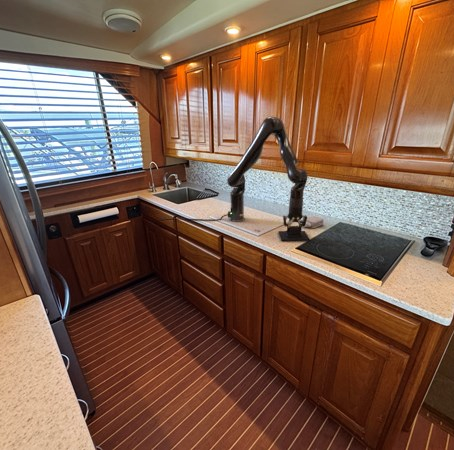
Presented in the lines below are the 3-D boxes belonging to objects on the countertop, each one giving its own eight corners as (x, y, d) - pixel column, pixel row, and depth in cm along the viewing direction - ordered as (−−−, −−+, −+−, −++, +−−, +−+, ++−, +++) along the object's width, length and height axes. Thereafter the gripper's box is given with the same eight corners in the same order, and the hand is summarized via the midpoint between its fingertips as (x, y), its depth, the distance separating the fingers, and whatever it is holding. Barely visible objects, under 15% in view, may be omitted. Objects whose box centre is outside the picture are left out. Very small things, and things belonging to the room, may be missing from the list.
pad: (290, 235, 138) (290, 229, 136) (288, 231, 143) (288, 225, 142) (299, 235, 138) (300, 229, 136) (297, 231, 143) (297, 225, 141)
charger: (297, 227, 155) (311, 221, 163) (308, 231, 148) (322, 225, 156) (297, 220, 153) (311, 215, 161) (309, 224, 146) (323, 218, 154)
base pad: (281, 241, 136) (281, 237, 135) (278, 232, 147) (278, 229, 146) (309, 241, 135) (310, 237, 134) (304, 232, 146) (304, 229, 146)
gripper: (307, 203, 137) (304, 229, 143) (282, 203, 137) (280, 230, 144) (310, 207, 130) (307, 235, 136) (284, 207, 130) (282, 235, 137)
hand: (293, 232), depth 140 cm, fingers closed on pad, 5 cm apart
